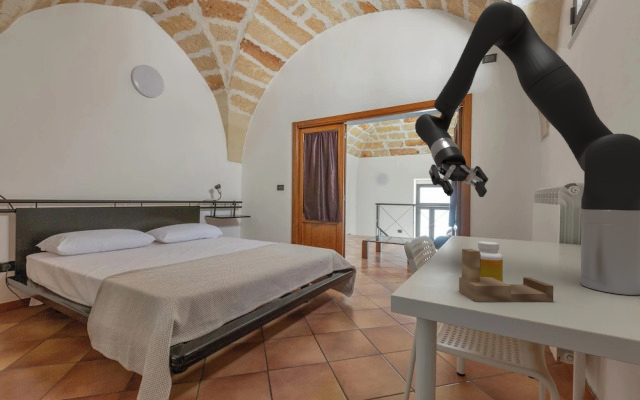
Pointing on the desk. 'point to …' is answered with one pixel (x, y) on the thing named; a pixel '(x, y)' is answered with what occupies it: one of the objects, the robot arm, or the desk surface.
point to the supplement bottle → (490, 260)
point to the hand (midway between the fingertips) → (467, 194)
